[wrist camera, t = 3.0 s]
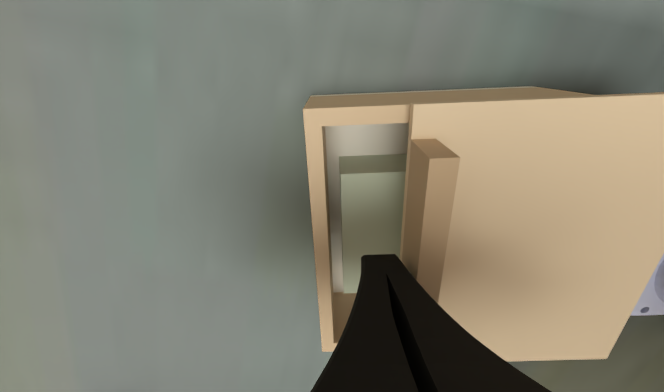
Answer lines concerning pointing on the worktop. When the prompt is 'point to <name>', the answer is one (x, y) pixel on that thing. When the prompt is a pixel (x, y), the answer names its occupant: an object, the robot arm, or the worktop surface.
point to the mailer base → (365, 183)
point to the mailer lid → (536, 217)
